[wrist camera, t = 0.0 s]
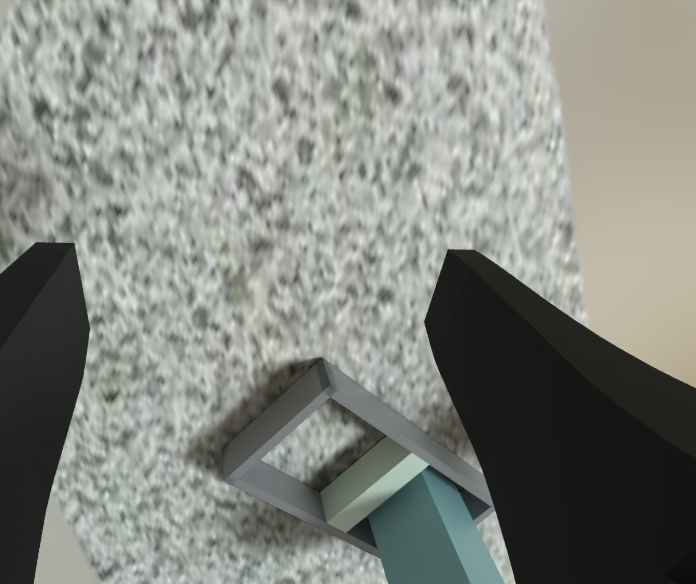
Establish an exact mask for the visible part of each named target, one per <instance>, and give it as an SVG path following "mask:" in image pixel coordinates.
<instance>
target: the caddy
mask: <svg viewBox="0 0 696 584" xmlns="http://www.w3.org/2000/svg"><path fill="white" fill-rule="evenodd" d="M330 397H331V398H332V399H334V400H335V401H337V402H338V403H340V404H341V405H343V406H344V407H346V408H347V409H349V410H350V411H352V412H353V413H354V414H356V415H357V416H359V417H360V418H362V419H363V420H365V421H366V422H368V423H369V424H371V425H372V426H374V427H375V428H376V429H378V430H379V431H381V432H382V433H384V434H385V435H387V436H386V437H385V438H383V439H382V440H381V441H380V442H379V443H378V444H376V445H375V446H374V447H373V448H372V449H370V450H369V451H368V452H367V453H366V454H365V455H363V456H362V457H361V458H360V459H359V460H357V461H356V462H355V463H354V464H353V465H352V466H350V467H349V468H348V469H347V470H346V471H344V472H343V473H342V474H341V475H340V476H339V477H337V478H336V479H335V480H334V481H333V482H331V483H330V484H329V485H328V486H327V487H326V488H324V489H323V490H322V491H321V492H318V491H317V490H315V489H313V488H311V487H309V486H307V485H305V484H304V483H302V482H300V481H298V480H296V479H294V478H293V477H291V476H289V475H287V474H285V473H283V472H282V471H280V470H278V469H276V468H274V467H272V466H270V465H269V464H267V463H265V462H263V461H261V460H260V459H262V458H263V457H264V456H265V455H266V454H267V453H268V452H269V451H271V450H272V449H273V448H274V447H275V446H276V445H277V444H278V443H280V442H281V441H282V440H283V439H284V438H285V437H286V436H287V435H288V434H290V433H291V432H292V431H293V430H294V429H295V428H296V427H297V426H299V425H300V424H301V423H302V422H303V421H304V420H305V419H306V418H308V417H309V416H310V415H311V414H312V413H313V412H314V411H315V410H317V409H318V408H319V407H320V406H321V405H322V404H323V403H324V402H326V401H327V400H328V399H329V398H330ZM222 457H223V481H224V482H226V483H229V484H231V485H233V486H235V487H237V488H239V489H241V490H243V491H245V492H247V493H249V494H251V495H253V496H255V497H257V498H259V499H261V500H263V501H265V502H267V503H269V504H271V505H273V506H275V507H277V508H279V509H281V510H283V511H285V512H287V513H289V514H291V515H293V516H295V517H297V518H299V519H301V520H303V521H305V522H308V523H310V524H312V525H314V526H316V527H318V528H320V529H322V530H324V531H326V532H328V533H330V534H332V535H334V536H336V537H338V538H340V539H342V540H344V541H346V542H348V543H350V544H352V545H354V546H356V547H358V548H360V549H362V550H364V551H366V552H368V553H370V554H372V555H374V556H376V557H378V558H380V555H379V551H378V548H377V545H376V542H375V538H374V535H373V532H372V528H371V525H370V522H369V519H368V518H366V516H367V515H368V514H370V513H371V512H372V511H373V510H374V509H376V508H377V507H378V506H379V505H381V504H382V503H383V502H384V501H386V500H387V499H388V498H389V497H390V496H392V495H393V494H394V493H395V492H397V491H398V490H399V489H400V488H401V487H403V486H404V485H405V484H406V483H408V482H409V481H410V480H411V479H413V478H414V477H415V476H416V475H417V474H419V473H420V472H421V471H422V470H424V469H425V468H426V467H427V466H428V465H431V466H432V467H434V468H435V469H437V470H438V471H440V472H441V473H443V474H444V475H445V476H447V477H448V478H450V479H451V480H453V481H454V482H456V483H457V484H459V485H460V486H462V487H463V488H465V489H463V490H462V491H461V492H460V495H461V497H462V499H463V501H464V503H465V505H466V507H467V509H468V511H469V513H470V515H471V517H472V519H473V521H474V523H475V525H477V524H478V523H479V522H481V521H482V520H483V519H485V518H486V517H487V516H489V515H490V514H491V513H493V512H494V511H495V508H494V505H493V502H492V499H491V496H490V492H489V489H488V486H487V483H486V480H485V477H484V475H483V474H482V473H480V472H479V471H478V470H476V469H475V468H474V467H472V466H471V465H469V464H468V463H467V462H465V461H464V460H463V459H461V458H460V457H458V456H457V455H456V454H454V453H453V452H451V451H450V450H449V449H447V448H446V447H445V446H443V445H442V444H440V443H439V442H438V441H436V440H435V439H434V438H432V437H431V436H429V435H428V434H427V433H425V432H424V431H423V430H421V429H420V428H418V427H417V426H416V425H414V424H413V423H412V422H410V421H409V420H407V419H406V418H405V417H403V416H402V415H401V414H399V413H398V412H396V411H395V410H394V409H392V408H391V407H390V406H388V405H387V404H385V403H384V402H383V401H381V400H380V399H379V398H377V397H376V396H374V395H373V394H372V393H370V392H369V391H368V390H366V389H365V388H363V387H362V386H361V385H359V384H358V383H357V382H355V381H354V380H352V379H351V378H350V377H348V376H347V375H346V374H344V373H343V372H341V371H340V370H339V369H337V368H336V367H335V366H333V365H332V364H330V363H329V362H328V361H326V360H325V359H324V358H321V359H320V360H319V361H318V362H317V363H316V364H315V365H314V366H313V367H311V368H310V369H309V370H308V371H307V372H306V373H305V374H304V375H303V376H302V377H301V378H299V379H298V380H297V381H296V382H295V383H294V384H293V385H292V386H291V387H290V388H289V389H287V390H286V391H285V392H284V393H283V394H282V395H281V396H280V397H279V398H278V399H277V400H275V401H274V402H273V403H272V404H271V405H270V406H269V407H268V408H267V409H266V410H265V411H263V412H262V413H261V414H260V415H259V416H258V417H257V418H256V419H255V420H254V421H252V422H251V423H250V424H249V425H248V426H247V427H246V428H245V429H244V430H243V431H242V432H240V433H239V434H238V435H237V436H236V437H235V438H234V439H233V440H232V441H231V442H230V443H228V444H227V445H226V446H225V447H224V448H223V449H222ZM380 559H381V558H380Z"/></svg>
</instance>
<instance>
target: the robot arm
mask: <svg viewBox="0 0 696 584" xmlns="http://www.w3.org/2000/svg"><path fill="white" fill-rule="evenodd" d="M424 323H425V327H426V331H427V334H428V338H429V342H430V346H431V349H432V352H433V356H434V359H435V362H436V365H437V367H438V369H439V372H440V374H441V376H442V379H443V381H444V383H445V386H446V388H447V390H448V392H449V395H450V397H451V399H452V401H453V404H454V406H455V408H456V410H457V412H458V415H459V417H460V419H461V421H462V424H463V426H464V428H465V430H466V432H467V435H468V437H469V439H470V441H471V444H472V446H473V448H474V450H475V453H476V455H477V458H478V461H479V463H480V466H481V468H482V471H483V474H484V477H485V480H486V483H487V486H488V489H489V492H490V496H491V499H492V502H493V505H494V508H495V511H496V514H497V518H498V521H499V525H500V528H501V531H502V535H503V538H504V542H505V545H506V548H507V552H508V555H509V559H510V563H511V567H512V571H513V575H514V578H515V582H516V584H696V388H694V387H692V386H690V385H688V384H686V383H684V382H682V381H680V380H678V379H675V378H673V377H671V376H669V375H667V374H666V373H664V372H662V371H660V370H658V369H656V368H654V367H652V366H650V365H648V364H647V363H645V362H643V361H641V360H639V359H638V358H636V357H634V356H632V355H631V354H629V353H627V352H625V351H623V350H622V349H620V348H618V347H616V346H615V345H613V344H611V343H610V342H608V341H606V340H605V339H603V338H601V337H600V336H598V335H597V334H595V333H594V332H592V331H591V330H589V329H588V328H586V327H585V326H583V325H582V324H580V323H578V322H577V321H575V320H574V319H572V318H571V317H569V316H568V315H567V314H565V313H564V312H562V311H561V310H559V309H558V308H556V307H555V306H554V305H552V304H551V303H549V302H548V301H547V300H545V299H544V298H542V297H541V296H540V295H538V294H537V293H535V292H534V291H533V290H531V289H530V288H529V287H527V286H526V285H524V284H523V283H522V282H520V281H519V280H518V279H516V278H515V277H514V276H512V275H511V274H509V273H508V272H507V271H505V270H504V269H502V268H501V267H500V266H498V265H497V264H495V263H494V262H493V261H491V260H490V259H488V258H487V257H485V256H484V255H482V254H480V253H479V252H477V251H475V250H454V249H448V250H447V254H446V257H445V260H444V263H443V266H442V269H441V272H440V275H439V278H438V281H437V284H436V287H435V290H434V294H433V297H432V300H431V303H430V306H429V309H428V312H427V315H426V318H425V321H424ZM89 332H90V326H89V320H88V315H87V310H86V304H85V299H84V293H83V288H82V282H81V277H80V271H79V266H78V260H77V255H76V249H75V244H74V243H45V242H36V243H35V244H34V245H33V246H31V247H30V248H29V249H28V250H27V251H26V252H25V253H23V254H22V255H21V256H20V257H19V258H18V259H17V260H15V261H14V262H13V263H12V264H11V265H10V266H9V267H8V268H7V269H5V270H4V271H3V272H2V273H1V274H0V584H34V578H35V571H36V565H37V559H38V553H39V548H40V542H41V536H42V530H43V525H44V519H45V513H46V508H47V505H48V500H49V496H50V492H51V488H52V484H53V481H54V477H55V474H56V470H57V467H58V463H59V460H60V457H61V453H62V450H63V446H64V443H65V439H66V436H67V432H68V429H69V425H70V422H71V419H72V415H73V412H74V408H75V404H76V401H77V397H78V394H79V390H80V387H81V383H82V379H83V375H84V368H85V362H86V355H87V348H88V340H89Z"/></svg>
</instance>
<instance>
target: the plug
mask: <svg viewBox="0 0 696 584" xmlns="http://www.w3.org/2000/svg"><path fill="white" fill-rule="evenodd" d="M368 519H369V522H370V525H371V528H372V532H373V535H374V538H375V542H376V545H377V548H378V551H379V555H380V558H381V561H382V564H383V568H384V571H385V574H386V578H387V581H388V584H505V583H504V581H503V579H502V577H501V575H500V573H499V571H498V569H497V567H496V565H495V563H494V561H493V559H492V557H491V555H490V553H489V551H488V549H487V547H486V545H485V543H484V541H483V539H482V537H481V535H480V533H479V531H478V529H477V527H476V525H475V523H474V521H473V519H472V517H471V515H470V513H469V511H468V509H467V507H466V505H465V503H464V501H463V499H462V497H461V495H460V493H459V491H458V489H457V487H456V485H455V483H454V482H453V481H451V480H450V479H449V478H447V477H446V476H444V475H443V474H441V473H440V472H438V471H437V470H435V469H434V468H432V467H431V466H429V465H428V466H427V467H426V468H425V469H424V470H422V471H421V472H420V473H419V474H417V475H416V476H415V477H414V478H413V479H411V480H410V481H409V482H408V483H406V484H405V485H404V486H403V487H401V488H400V489H399V490H398V491H397V492H395V493H394V494H393V495H392V496H390V497H389V498H388V499H387V500H386V501H384V502H383V503H382V504H381V505H379V506H378V507H377V508H376V509H374V510H373V511H372V512H371V513H370V514H368Z"/></svg>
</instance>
